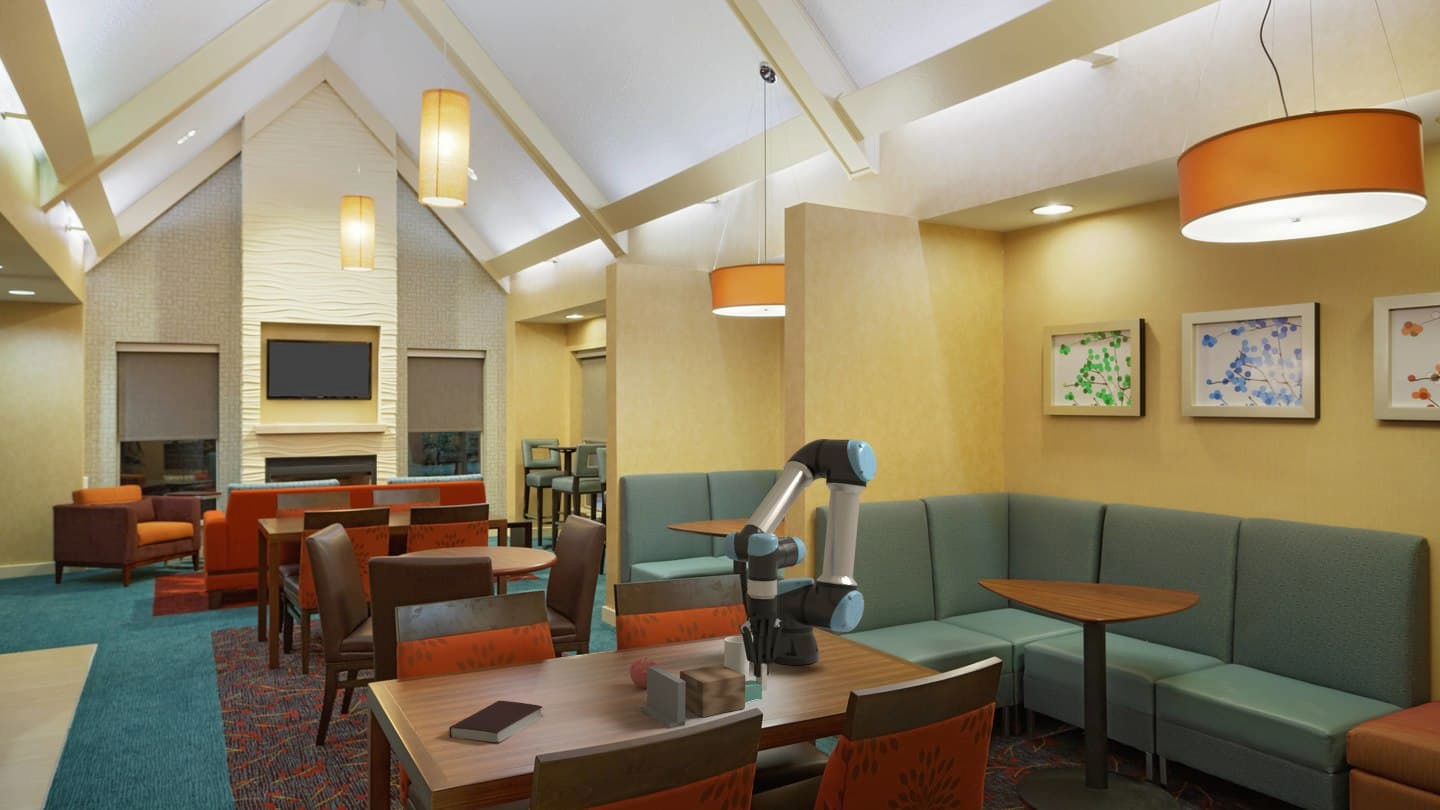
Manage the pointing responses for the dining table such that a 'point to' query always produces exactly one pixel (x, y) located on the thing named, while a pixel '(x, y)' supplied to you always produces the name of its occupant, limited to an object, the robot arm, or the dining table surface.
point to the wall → (665, 697)
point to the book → (496, 722)
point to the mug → (736, 655)
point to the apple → (641, 671)
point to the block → (713, 690)
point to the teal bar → (753, 690)
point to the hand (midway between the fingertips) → (761, 688)
